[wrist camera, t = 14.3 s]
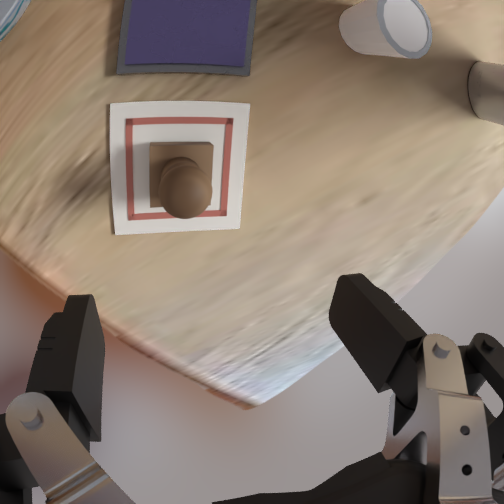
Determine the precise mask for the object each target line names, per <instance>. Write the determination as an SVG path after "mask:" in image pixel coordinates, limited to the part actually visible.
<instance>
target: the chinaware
mask: <svg viewBox="0 0 504 504" xmlns="http://www.w3.org/2000/svg"><path fill="white" fill-rule="evenodd" d="M30 2H31V0H0V41H1V40H2V39H3V38H4V37H5V36H6V35H7V34H8V33H9V32H10V31H11V29H12V28H13V27H14V26H15V24H16V23H17V22H18V20H19V19H20V18H21V16H22V15H23V13H24V12H25V10H26V9H27V7H28V5H29V4H30Z"/></svg>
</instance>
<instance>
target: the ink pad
mask: <svg viewBox="0 0 504 504" xmlns="http://www.w3.org/2000/svg"><path fill="white" fill-rule="evenodd" d="M256 5H257V0H125V3H124V10H123V17H122V24H121V31H120V40H119V49H118V60H117V73H116V74H117V75H123V74H142V73H203V74H222V75H235V76H249V75H250V64H251V54H252V44H253V34H254V24H255V15H256Z"/></svg>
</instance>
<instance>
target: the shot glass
mask: <svg viewBox="0 0 504 504" xmlns="http://www.w3.org/2000/svg"><path fill="white" fill-rule="evenodd" d="M339 29H340V33H341V36H342V38H343V39H344V41H345V43H346V44H347V45H348V46H349V47H350V48H351V49H353V50H354V51H355V52H358V53H361V54H365V55H380V56H391V57H401V58H409V59H410V58H420V57H422V56H423V55H425V54H426V53H427V52H428V50H429V48H430V46H431V42H432V29H431V24H430V20H429V18H428V16H427V14H426V12H425V10H424V8H423V6H422V5H421V4H420V3H419V2H418V1H417V0H365V1H363V2H360V3H358V4H356V5H354V6H352V7H350V8H348V9H346V10H344V11H343V13H342V14H341V16H340V20H339Z"/></svg>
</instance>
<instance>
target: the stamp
mask: <svg viewBox="0 0 504 504" xmlns="http://www.w3.org/2000/svg"><path fill="white" fill-rule="evenodd" d="M213 150H214V145H213V144H211V143H210V142H150V146H149V186H150V208H155V207H163V208H164V209H165V211H166V212H167V213H169V214H170V215H172V216H174V217H176V218H179V219H190V218H194V217H196V216H198V215H200V214H201V213H203V212H204V211H205V210H206V208H207V207H208V206H209V205H211V199H212V192H213V191H212V167H213Z"/></svg>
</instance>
